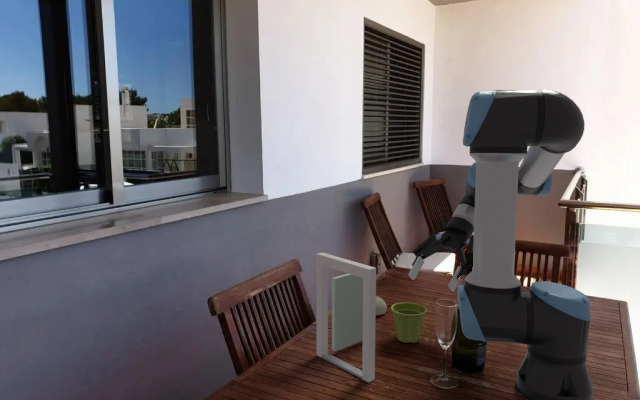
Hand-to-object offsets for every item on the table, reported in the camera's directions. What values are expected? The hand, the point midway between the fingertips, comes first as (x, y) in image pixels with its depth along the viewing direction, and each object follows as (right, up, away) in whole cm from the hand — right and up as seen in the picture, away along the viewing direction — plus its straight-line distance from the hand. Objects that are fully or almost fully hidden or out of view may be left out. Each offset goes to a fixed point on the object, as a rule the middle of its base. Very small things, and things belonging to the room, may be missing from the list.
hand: (430, 282), depth 140 cm
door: (-23, -14, -9) cm, 28 cm away
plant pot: (-7, -15, -4) cm, 17 cm away
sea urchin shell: (-15, -12, +15) cm, 24 cm away
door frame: (-25, -17, -20) cm, 36 cm away
